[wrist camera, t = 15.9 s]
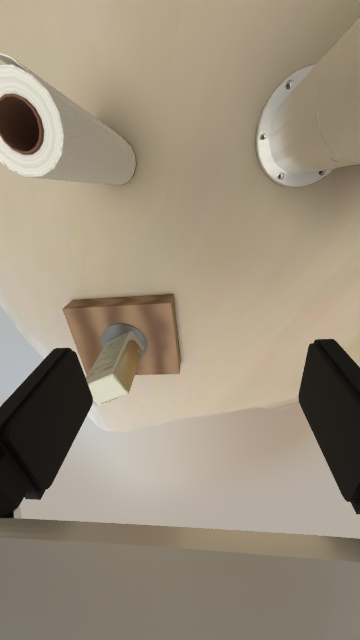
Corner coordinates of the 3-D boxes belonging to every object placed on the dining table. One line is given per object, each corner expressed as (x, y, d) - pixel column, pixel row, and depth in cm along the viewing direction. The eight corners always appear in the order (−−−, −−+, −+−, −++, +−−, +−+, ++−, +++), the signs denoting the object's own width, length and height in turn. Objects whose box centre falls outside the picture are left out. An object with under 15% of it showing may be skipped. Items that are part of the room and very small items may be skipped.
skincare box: (119, 357, 46) (95, 407, 36) (106, 341, 45) (77, 388, 34) (146, 346, 45) (129, 395, 34) (133, 329, 43) (112, 374, 32)
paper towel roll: (134, 188, 36) (64, 185, 17) (95, 180, 36) (-18, 168, 17) (139, 130, 32) (57, 45, 14) (96, 121, 32) (-47, 22, 14)
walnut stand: (173, 294, 44) (170, 304, 40) (180, 361, 51) (179, 375, 48) (72, 300, 46) (61, 309, 42) (94, 363, 54) (86, 377, 50)
